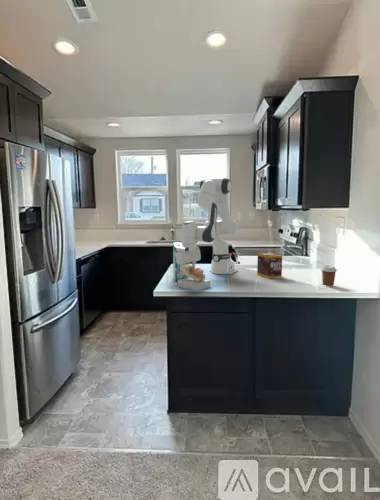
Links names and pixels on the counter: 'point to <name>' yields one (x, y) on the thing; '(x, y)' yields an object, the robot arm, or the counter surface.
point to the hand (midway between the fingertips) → (188, 269)
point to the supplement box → (269, 265)
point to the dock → (194, 284)
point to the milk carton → (177, 265)
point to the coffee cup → (328, 275)
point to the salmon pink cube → (198, 271)
